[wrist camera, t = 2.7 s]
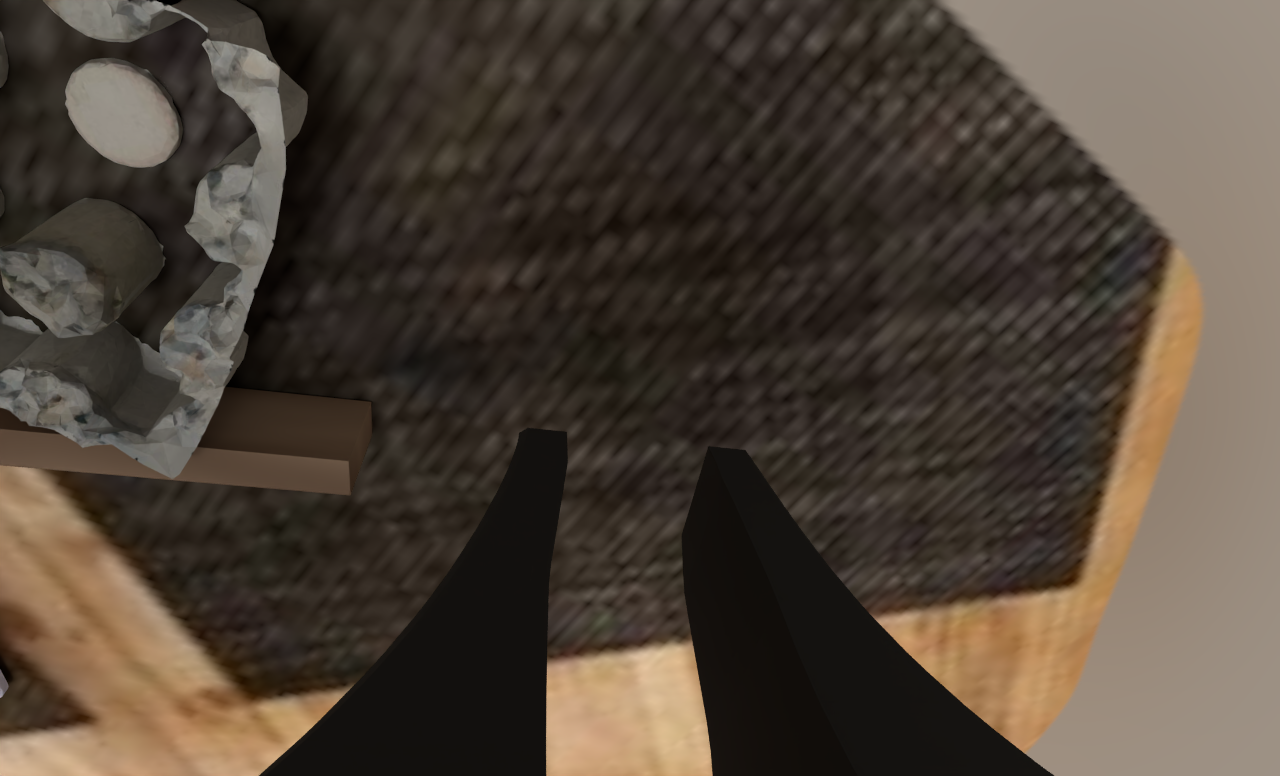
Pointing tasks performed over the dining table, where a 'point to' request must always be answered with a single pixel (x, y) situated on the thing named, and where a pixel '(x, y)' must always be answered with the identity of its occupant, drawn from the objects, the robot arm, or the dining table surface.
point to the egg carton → (146, 244)
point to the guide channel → (228, 444)
